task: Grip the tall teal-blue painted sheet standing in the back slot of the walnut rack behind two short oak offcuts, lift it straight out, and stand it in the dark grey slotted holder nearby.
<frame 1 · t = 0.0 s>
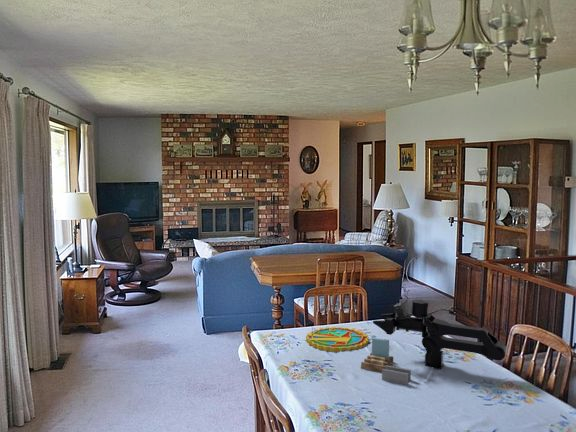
hand: (376, 318, 223), 17 cm above the table, tool horizontal, fingers open, 9 cm apart
offcut small: (376, 368, 208), resting on rack
holder: (396, 380, 198), on the table
rack: (377, 365, 213), on the table
offcut front: (377, 365, 212), resting on rack
tall sheet: (380, 362, 215), resting on rack
decorative plaque: (337, 341, 244), on the table
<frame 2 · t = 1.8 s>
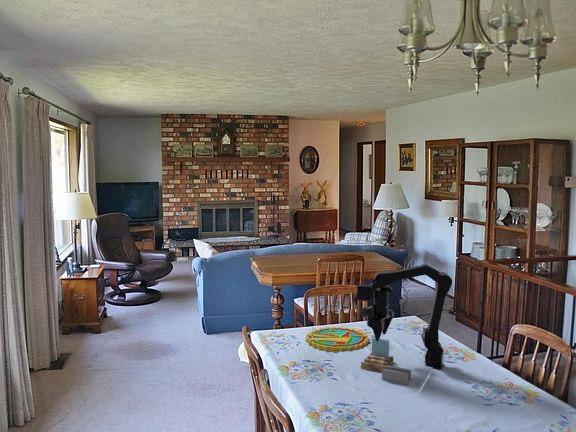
hand: (380, 337, 214), 11 cm above the table, tool pointing down, fingers open, 9 cm apart
nothing on the table moved.
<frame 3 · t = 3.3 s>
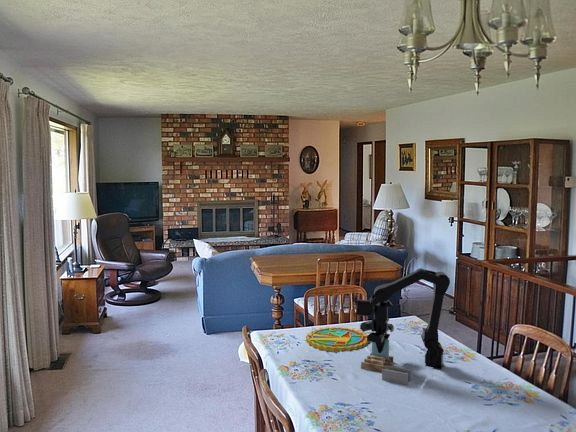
hand: (380, 352, 215), 5 cm above the table, tool pointing down, fingers closed on tall sheet, 2 cm apart
tall sheet: (380, 362, 215), resting on rack, touching gripper
everything else where it was.
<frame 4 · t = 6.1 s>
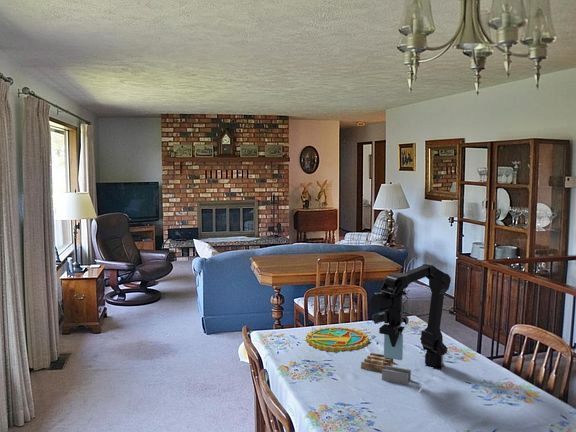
hand: (393, 346, 199), 13 cm above the table, tool pointing down, fingers closed on tall sheet
tall sheet: (393, 358, 200), point 8 cm above the table, touching gripper
everything else where it was.
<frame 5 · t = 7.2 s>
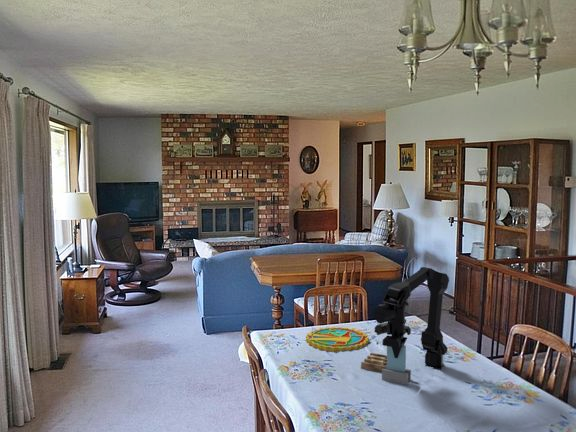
hand: (396, 357, 197), 9 cm above the table, tool pointing down, fingers closed on tall sheet
tall sheet: (396, 370, 198), point 4 cm above the table, touching gripper
everything else where it was.
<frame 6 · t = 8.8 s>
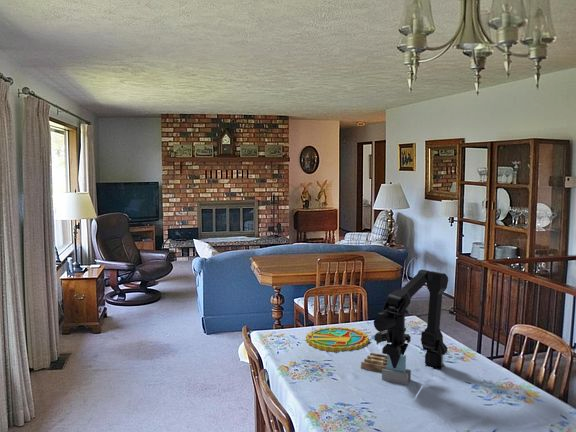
hand: (396, 365, 197), 6 cm above the table, tool pointing down, fingers open, 6 cm apart
tall sheet: (396, 379, 198), resting on holder
everything else where it was.
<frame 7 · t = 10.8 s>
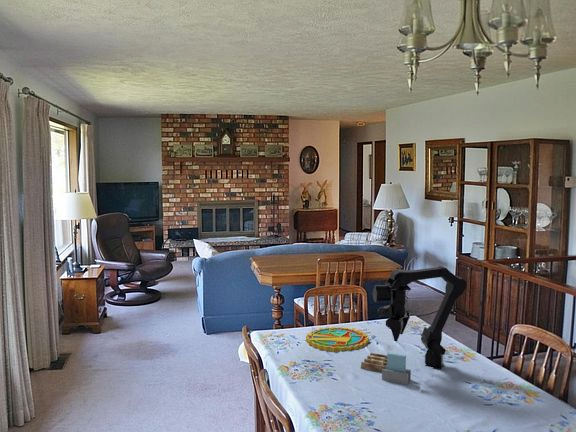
hand: (398, 337, 209), 13 cm above the table, tool pointing down, fingers open, 9 cm apart
nothing on the table moved.
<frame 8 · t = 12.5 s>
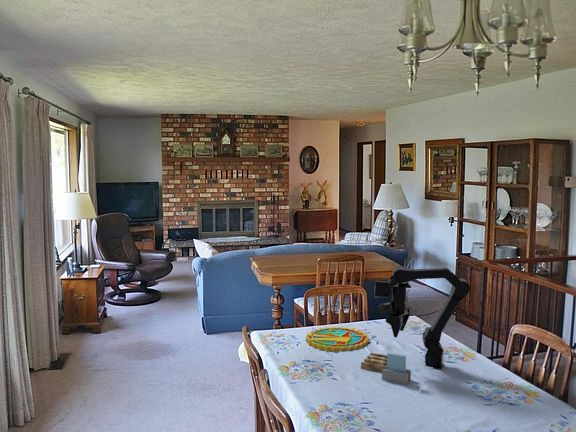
hand: (398, 334, 213), 13 cm above the table, tool pointing down, fingers open, 9 cm apart
nothing on the table moved.
at the end: tall sheet 0.1 cm off-centre on the holder, point 0.5 cm above the holder's base; tall sheet tilted 0°; the gripper is holding nothing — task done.
